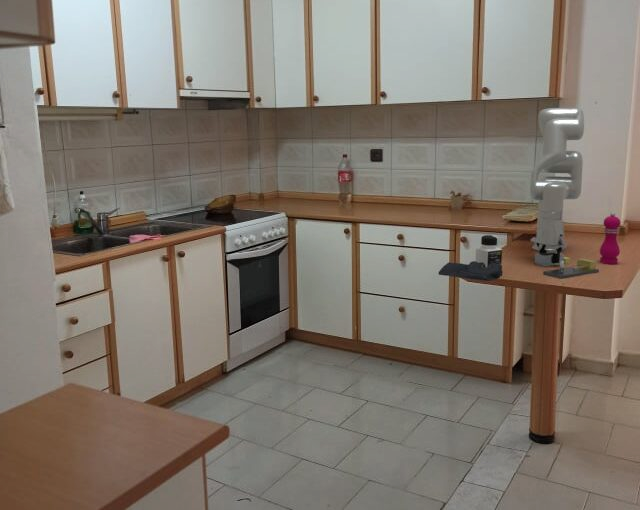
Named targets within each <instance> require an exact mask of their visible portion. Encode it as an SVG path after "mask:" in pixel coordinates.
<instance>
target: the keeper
mask: <svg viewBox="0 0 640 510" xmlns="http://www.w3.org/2000/svg"><path fill="white" fill-rule="evenodd" d="M599 272H600V269H599V268H598V269H597V260H592V259H588V258H584V257H583V258H577V261H576V266H568V267H565V264H564V261H560V265H559V268H557V269H550V270H544V271H543V273H542V274H543V275H545V276H548V277H552V278H556V279H567V278H571V277H572V278H573V277H579V276H583V275H589V274H591V275H592V274H596V273H599Z"/></svg>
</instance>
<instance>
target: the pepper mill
mask: <svg viewBox="0 0 640 510" xmlns="http://www.w3.org/2000/svg"><path fill="white" fill-rule="evenodd" d="M609 215H610V216H607V217H605V218H604V220H603V226H604V227H605V228H604V231H603V232H604V233H605V236H604V239H603V240H604V241H603V242H602V243H601V246H600V247H599V254H600V256H601V257H600V259H599V263H601V264H607V265H616V264H618V263H619V262H618V260H619V259H618V256H619V255H620V252H621V249H620V247H619V244H618V240H617V236H618V233H619V227H620V226H621V220H620V218H619V217H618V216H616V213H615V212H614V211H611V212H610V214H609Z"/></svg>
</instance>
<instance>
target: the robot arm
mask: <svg viewBox="0 0 640 510" xmlns="http://www.w3.org/2000/svg"><path fill="white" fill-rule="evenodd" d="M537 117H538V119H537V120H538V121H537V122H538V126H539V129H540V130H539V131H540V133H541V135H542V140H543V141H542V142H543V143H542V146H543V147H542V157H541V159H539V161H537V163H536V164H535V166H533V169H532V171H531V174H530V181H529V182H530V183H529V195H530V197H531V199H532V200H536V201H537V202H538V205H537V206H538V209H537V224H536V225H537V226H536V236H535V237H534V236H533V237H531V238H530V242H531V243H534V244H533V245H532V247H531V248H532V249H533V250H534V251H539V252H538V253H546V252H554V253H553V262H552V263H554V264H555V263H559V260H560V253H561V254H562V252H563V251H564V250H565V249H566V248H567V247H568V244H567V242H566V241H565V225H564V220H563V213H564V212H563V210H564V200H577V199H579V197H580V196H581V193H582V184H583V183H582V181H583V164H584V163H583V162H584V161H583V156H582V154H581V152H579V151H577V150H567V141H578V140H579V141H580V140H581V139H582V138H583V136H584V132H585V117H584V111H583V110H582V108H580V107H549V108H544V109H542V110H540V111H539V113H538V115H537ZM542 171H544V172H545V173H547V174H568V175H570V176H559V175H558V176H544V177H541V178H539V175H540V173H541V172H542ZM538 178H539V180H538Z"/></svg>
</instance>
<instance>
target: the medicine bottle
mask: <svg viewBox="0 0 640 510" xmlns="http://www.w3.org/2000/svg"><path fill="white" fill-rule="evenodd" d="M498 239H499V238H498V236H496V235H493V234H492V235H491V234H486V235H483V236H481V242H480V247H476V248H475V260H474V261H475V262H478V263H480V262H483V263H484V264H485V267H486V268H487V267H488V265H489V264H501V265H502V261H503V260H502V259H503V249H502V248H501V247H498Z"/></svg>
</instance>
